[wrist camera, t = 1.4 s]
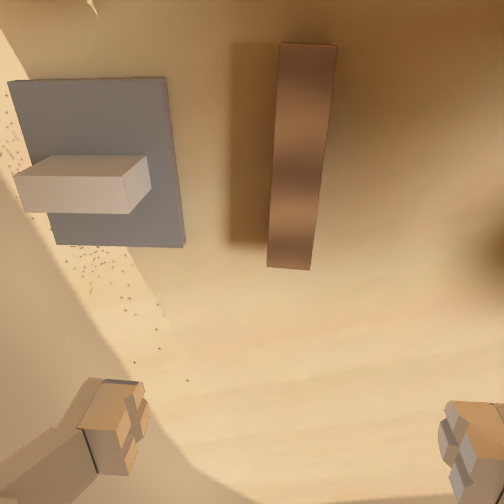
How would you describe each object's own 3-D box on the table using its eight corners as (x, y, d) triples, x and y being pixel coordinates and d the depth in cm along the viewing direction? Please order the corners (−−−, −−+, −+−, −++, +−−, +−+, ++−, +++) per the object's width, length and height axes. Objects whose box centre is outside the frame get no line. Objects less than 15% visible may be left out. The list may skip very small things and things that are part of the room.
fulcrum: (165, 77, 30) (135, 88, 24) (186, 241, 37) (165, 279, 31) (16, 80, 31) (-45, 91, 26) (63, 238, 38) (23, 274, 33)
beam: (282, 42, 28) (279, 45, 24) (332, 44, 28) (337, 47, 24) (270, 240, 36) (266, 266, 32) (308, 244, 36) (309, 270, 32)
